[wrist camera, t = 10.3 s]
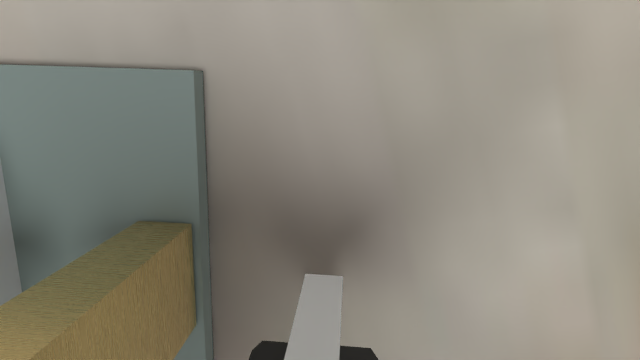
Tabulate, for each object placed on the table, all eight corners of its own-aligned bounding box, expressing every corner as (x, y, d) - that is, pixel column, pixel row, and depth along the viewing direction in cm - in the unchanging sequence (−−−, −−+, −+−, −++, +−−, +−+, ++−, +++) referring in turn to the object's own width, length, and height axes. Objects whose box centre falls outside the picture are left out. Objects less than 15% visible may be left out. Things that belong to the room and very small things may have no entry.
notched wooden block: (86, 316, 18) (-164, 530, 9) (74, 217, 17) (-224, 353, 8) (196, 324, 18) (43, 555, 9) (191, 223, 17) (11, 374, 8)
